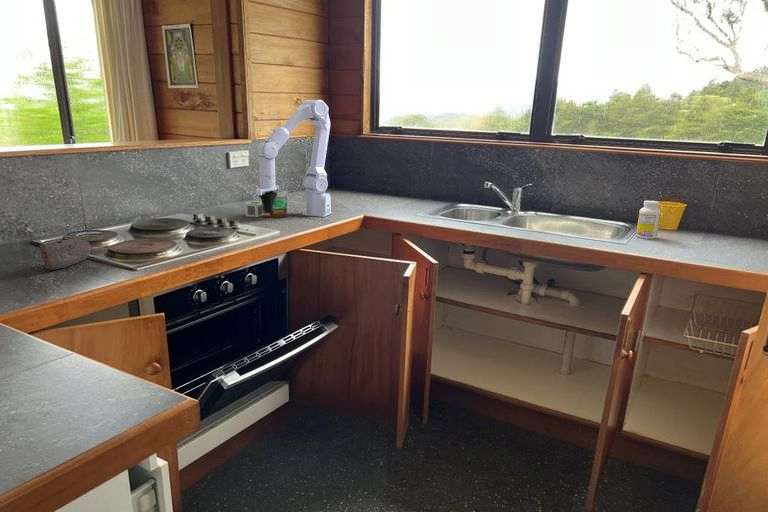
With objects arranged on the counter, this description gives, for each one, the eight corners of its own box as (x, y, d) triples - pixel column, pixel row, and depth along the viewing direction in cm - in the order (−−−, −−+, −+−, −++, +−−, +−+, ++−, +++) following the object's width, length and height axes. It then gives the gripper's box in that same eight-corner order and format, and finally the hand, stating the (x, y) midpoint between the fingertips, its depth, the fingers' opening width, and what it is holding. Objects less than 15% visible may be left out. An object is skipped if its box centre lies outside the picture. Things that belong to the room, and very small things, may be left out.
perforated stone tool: (84, 257, 143) (81, 232, 141) (100, 259, 142) (96, 234, 140) (34, 272, 129) (30, 244, 127) (51, 274, 128) (47, 246, 126)
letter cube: (264, 215, 207) (263, 202, 206) (257, 217, 203) (257, 204, 201) (252, 214, 209) (251, 201, 207) (245, 216, 204) (245, 203, 202)
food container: (269, 219, 198) (268, 192, 195) (260, 217, 202) (259, 191, 199) (296, 215, 206) (295, 190, 204) (286, 213, 210) (285, 188, 208)
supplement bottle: (645, 234, 190) (651, 199, 186) (660, 238, 184) (666, 202, 180) (631, 235, 187) (636, 200, 184) (646, 240, 181) (652, 203, 178)
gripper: (267, 173, 202) (267, 208, 205) (247, 176, 188) (249, 214, 192) (283, 174, 200) (284, 209, 203) (265, 178, 186) (266, 215, 190)
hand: (268, 211), depth 197 cm, fingers closed
